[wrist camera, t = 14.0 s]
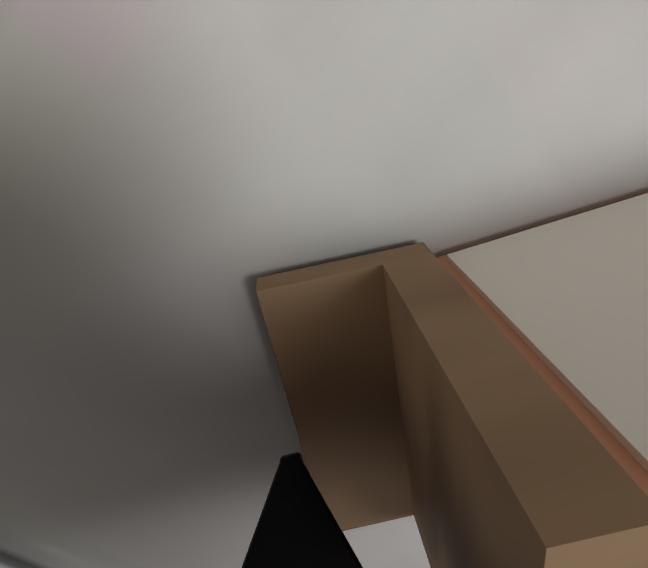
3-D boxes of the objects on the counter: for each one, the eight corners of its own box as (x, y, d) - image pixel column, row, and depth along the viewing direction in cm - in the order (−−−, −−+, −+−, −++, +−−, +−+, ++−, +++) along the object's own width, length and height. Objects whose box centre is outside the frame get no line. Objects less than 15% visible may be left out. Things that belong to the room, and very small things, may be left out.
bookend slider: (440, 488, 12) (569, 803, 7) (325, 514, 12) (366, 851, 7) (423, 242, 9) (669, 520, 3) (256, 278, 9) (235, 620, 3)
